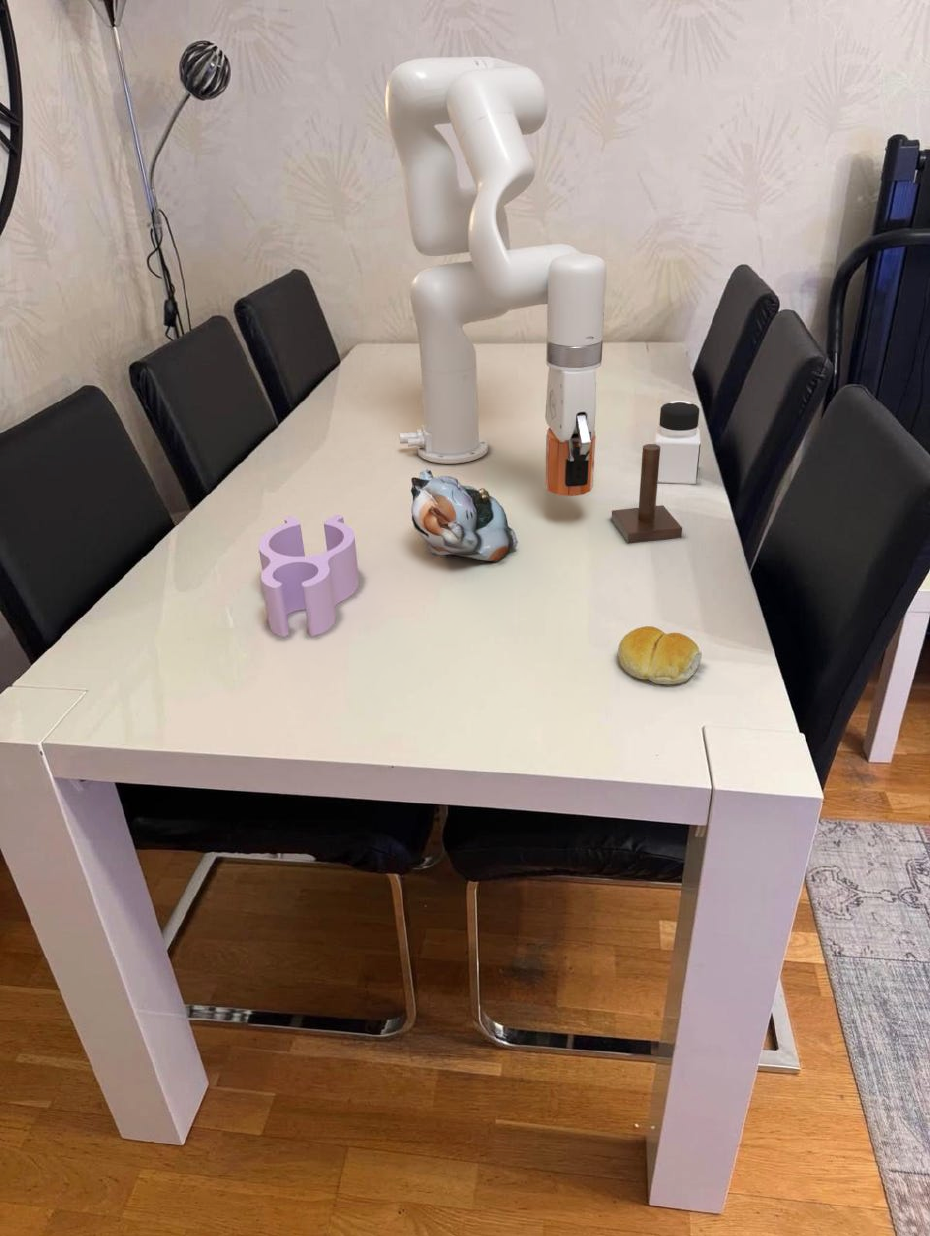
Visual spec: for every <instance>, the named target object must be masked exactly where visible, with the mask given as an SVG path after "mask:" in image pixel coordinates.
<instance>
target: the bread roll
mask: <svg viewBox="0 0 930 1236" xmlns="http://www.w3.org/2000/svg"><path fill="white" fill-rule="evenodd" d="M702 655H703V653H702V652H701V651H700V649H699V646H698V644H697V643H696V642H695V641H694V640H692V639H691V638H690V637H689V636H687V635H685V634H683V633H680V632H670V633H665V632H664V631H663V630H661V629H660V628H657V627H655V626H652V625H651V626H650V625H649V626H647V625H646V626H641V627H638V628H635V629H633V630H631V631H629V632H628V633H627V634H626V635H625V634H624V636H623V637H622V639H621V640H620V642H619V644H618V660H619V664H620V666H621V667H622V668H623V670H624V671H625V672H626V673H628V674H629V675H630V676H632V677H633V678H636V679H639V680H649V681H651V682H652V683H654V684H659V685H675V684H682V683H684V682H687V681H689V680H690V678H692V676H694V674H695V673H696V671H697V669H698V668H699V666H700V664H701V660H702Z"/></svg>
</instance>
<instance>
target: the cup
mask: <svg viewBox="0 0 930 1236" xmlns="http://www.w3.org/2000/svg"><path fill="white" fill-rule="evenodd" d="M571 438H579V437H578V434H572V436H571ZM590 441H591V447H590V449H589V451H590V452H589V466H588V483H587V485H582V486H571V487H567V486H566V485H565V467H566V459H568V448H567V440H565V442H561V441H559V440H558V439H557V437H556V436H555V435H554V433H553V432H552V430H551V429H550V427H548V428H547V430H546V436H545V470H544V471H545V473H544V474H545V475H544V487H545V489H546V490H547V491H548V492H550V493H551V494H553V495H557V496H564V497H576V496H583V495H585V494H587V493H590V492H591V491H592V489H593V487H594V471H595V470H594V469H595V453H596V430H595V429H594V435H593V437H592V438H591V439H590ZM578 444H579V442H576V443H573V451H574V449H575V447H578Z"/></svg>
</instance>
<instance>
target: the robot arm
mask: <svg viewBox="0 0 930 1236" xmlns="http://www.w3.org/2000/svg"><path fill="white" fill-rule="evenodd" d="M548 106H549V101H548V95H547V92H546V89H545V86H544V83H543V82H542V79H541V78H540V77H539V75H538V74H537V72H535V71H534V70H533V69H531V68H529V67H528V66H525V65H522V64H519V63H514V62H511V61H507V60H505V59H501V58H497V57H493V56H486V55H485V56H481V55H480V56H449V57H448V56H438V57H437V56H436V57H435V56H434V57H423V58H416V59H411V60H408V61H405V62H402V63H400V64H398V65H397V66H396V67H395V68H393V69H392V71H391V73H390V74H389V76H388V78H387V82H386V86H385V95H384V108H385V115H386V120H387V125H388V128H389V132H390V135H391V137H392V140H393V142H394V145H395V148H396V151H397V154H398V157H399V160H400V165H401V170H402V178H403V185H404V194H405V200H406V208H407V214H408V220H409V221H408V223H409V228H410V234H411V238H412V242H413V246H414V247H415V249H416V250H417V252H418V253H420V254H421V255H422V256H428V257H441V256H442V257H443V256H450V255H451V256H452V255H456V254H457V255H459V254H465V253H469V256H470V260H468V261H461V262H453V263H445V264H439V265H434V266H430V267H428V268H425V269H423V270H421V271H419V272H418V274H416V276H414V278H413V279H412V281H411V284H410V287H409V288H410V289H409V296H410V297H409V298H410V303H411V309H412V313H413V317H414V321H415V326H416V331H417V337H418V346H419V347H418V348H419V357H420V358H419V359H420V360H419V361H420V368H421V369H420V372H421V373H420V374H421V387H422V404H423V417H424V418H423V420H424V423H423V424H421V429H416V432H415V431H414V432H409V431H408V432H399V433H398V436H399V444H400V445H404V444H405V445H406V444H407V447H408V448H409V447H417V454H418V456H419V457H420V458H421V459H423V460H424V461H427V462H431V463H434V464H443V465H444V464H445V465H446V464H447V465H453V464H455V465H456V464H464V463H468V462H473V461H476V460H478V459H481V458H483V457H484V456H485V455H487V453H488V451H489V444H488V442H487V440H485V439H484V438H482V437H480V433H479V432H480V431H479V430H480V429H479V401H478V400H479V399H478V366H477V351H476V348H475V345H474V343H473V341H471V339H470V337H469V336H468V335H467V334H466V332H465V331H464V329H463V326H464V325H467V324H471V323H476V322H482V321H487V320H492V319H496V318H499V317H502V316H504V315H506V314H507V313H508V312H509V311H511V310H519V309H524V308H525V309H526V308H529V307H534V306H535V307H536V306H540V305H541V306H542V305H547V308H546V309H547V313H546V350H545V351H546V355H545V357H546V358H545V359H546V360H545V363H546V364H545V365H546V366H547V367H548V373H547V374H548V375H547V385H546V397H545V398H546V400H545V414H544V416H545V422H546V424H547V426H548V428H550V429H551V430H552V432H553V433H554V435H555V436H556V437H557V439H558V440H559V441H561V442H565V440H567V448H568V459H566V467H565V485H566V486H567V487H571V486H582V485H587V483H588V466H589V452H590V451H589V449H590V447H591V441H590V439H591V438H592V437H593V435H594V430H595V427H596V411H597V410H596V408H597V407H596V406H597V404H596V403H597V381H596V379H597V378H596V369H598V368H599V367H601V366H602V364H603V363H602V361H603V342H604V328H605V327H604V326H605V307H606V291H607V290H606V289H607V288H606V287H607V264H606V262H605V260H604V259H603V258H601V257H600V256H598V255H595V254H590V253H582V252H581V251H579V250H578V249H577V248H576V247H574V246H572V245H570V244H567V243H551V244H544V245H534V246H526V247H521V248H513V249H511V242H510V232H509V231H510V230H509V223H508V216H507V212H506V209H505V206H506V205H507V204H509V203H511V202H513V201H514V200H515V199H517V198H518V197H520V195H521V194H523V193H524V192H525V191H526V190H527V189H528V188H529V187H530V185H531V184H532V183H533V181H534V178H535V175H536V165H535V162H534V159H533V157H532V154H531V152H530V150H529V147H528V144H527V142H526V139H525V137H524V136H525V135H526V136H527V135H531V134H534V133H536V132H538V131H539V130H540V129H541V128H542V127H543V125H544V123H545V121H546V118H547V114H548ZM447 124H451V126H452V129H453V132H454V135H455V137H456V139H457V142H458V144H459V147H460V149H461V152H462V154H463V157H464V161H465V163H466V165H467V168H468V171H469V173H470V176H471V178H472V181H473V182H474V185H475V186H470V187H461V185H460V182H459V176H458V167H457V159H456V156H455V152H454V151H453V150H452V149H453V148H452V147H451V146H450V144H449V142H448V141H447V139H446V138H445V137H444V136H443V134H442V133H441V132H440V130H438V129H437V128H436V127H435V126H437V125H447ZM572 434H578V437H579V438H571V436H572ZM576 442H579V444H578V447H575V449H574V451H573V443H576Z"/></svg>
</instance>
